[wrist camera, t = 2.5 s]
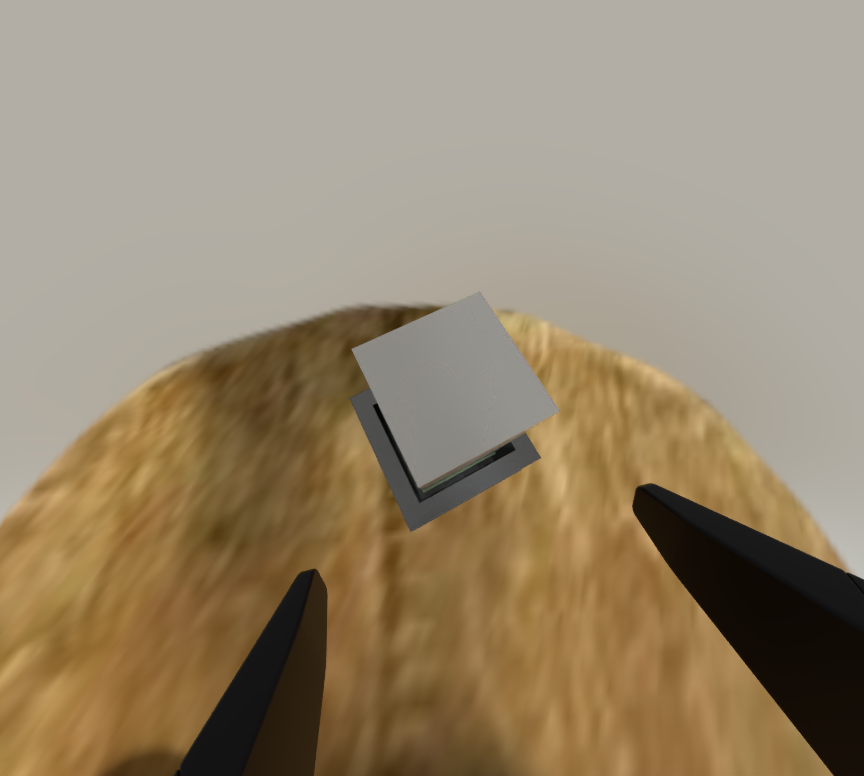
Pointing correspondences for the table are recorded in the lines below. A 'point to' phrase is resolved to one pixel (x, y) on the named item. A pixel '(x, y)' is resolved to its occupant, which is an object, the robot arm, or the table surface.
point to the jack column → (452, 389)
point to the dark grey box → (450, 492)
